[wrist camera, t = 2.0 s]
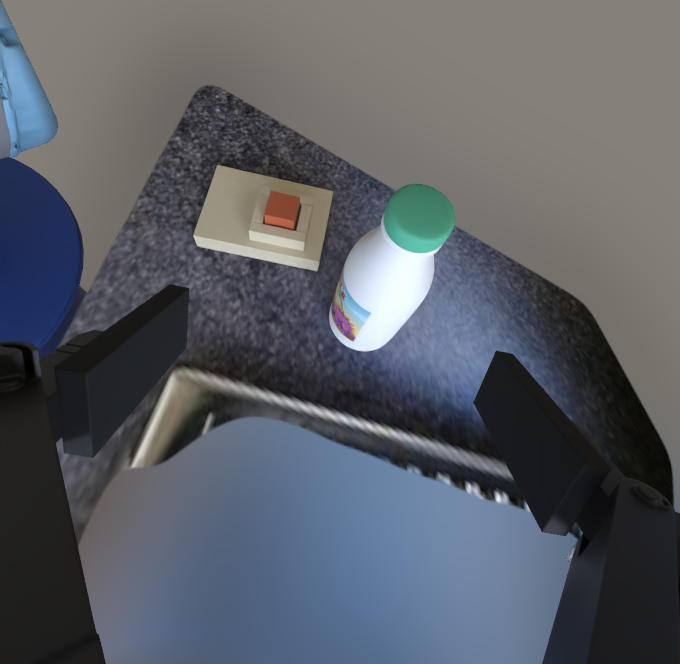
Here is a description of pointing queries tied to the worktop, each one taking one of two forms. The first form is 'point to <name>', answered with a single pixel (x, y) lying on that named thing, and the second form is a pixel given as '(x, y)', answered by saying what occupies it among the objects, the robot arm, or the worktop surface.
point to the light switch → (262, 219)
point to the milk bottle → (391, 268)
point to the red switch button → (282, 210)
